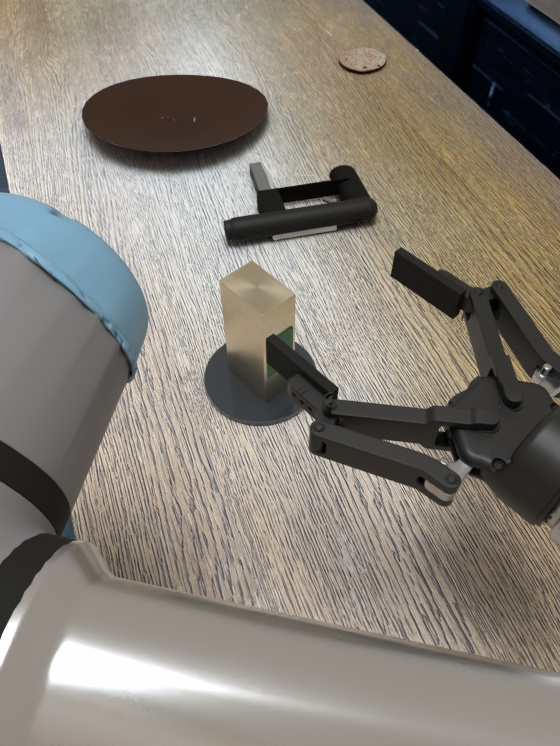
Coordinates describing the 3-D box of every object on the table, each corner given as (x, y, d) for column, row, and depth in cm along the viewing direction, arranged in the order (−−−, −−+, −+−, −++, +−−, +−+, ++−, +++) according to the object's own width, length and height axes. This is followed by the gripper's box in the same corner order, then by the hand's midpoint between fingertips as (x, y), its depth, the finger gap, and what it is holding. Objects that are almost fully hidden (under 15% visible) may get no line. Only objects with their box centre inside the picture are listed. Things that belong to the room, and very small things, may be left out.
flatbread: (351, 77, 108) (351, 71, 107) (332, 56, 112) (332, 50, 111) (394, 67, 109) (395, 61, 109) (374, 47, 114) (374, 42, 113)
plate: (277, 78, 108) (277, 56, 105) (257, 180, 91) (256, 157, 88) (112, 71, 110) (107, 49, 107) (62, 169, 93) (55, 146, 90)
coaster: (181, 375, 69) (181, 372, 69) (266, 319, 74) (265, 316, 74) (254, 446, 64) (254, 443, 63) (340, 381, 69) (340, 378, 68)
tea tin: (228, 368, 69) (218, 280, 59) (257, 349, 71) (252, 260, 61) (266, 403, 66) (263, 317, 56) (295, 382, 68) (297, 294, 58)
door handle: (207, 164, 89) (227, 233, 78) (347, 144, 92) (384, 208, 81) (209, 185, 91) (229, 255, 81) (345, 165, 94) (382, 230, 84)
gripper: (439, 645, 38) (212, 420, 48) (654, 409, 48) (432, 264, 58) (468, 602, 32) (202, 355, 42) (707, 343, 42) (449, 194, 52)
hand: (335, 302), depth 50 cm, fingers open, 13 cm apart
